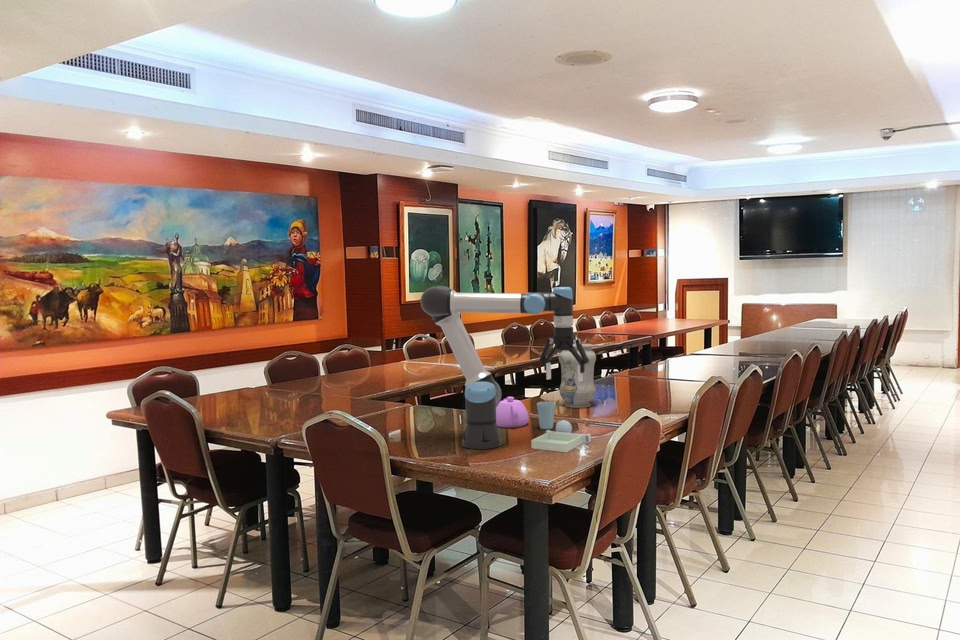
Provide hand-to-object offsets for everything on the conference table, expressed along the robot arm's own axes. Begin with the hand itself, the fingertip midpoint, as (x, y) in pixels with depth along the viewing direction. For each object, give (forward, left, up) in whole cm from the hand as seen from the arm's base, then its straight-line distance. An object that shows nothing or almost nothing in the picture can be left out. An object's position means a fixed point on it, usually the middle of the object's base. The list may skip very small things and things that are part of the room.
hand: (564, 380), depth 272 cm
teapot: (-31, +12, -23) cm, 40 cm away
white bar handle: (+3, -5, -23) cm, 23 cm away
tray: (+3, -14, -23) cm, 27 cm away
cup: (-14, +12, -23) cm, 29 cm away
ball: (-1, +1, -23) cm, 23 cm away
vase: (-21, +62, -23) cm, 69 cm away
